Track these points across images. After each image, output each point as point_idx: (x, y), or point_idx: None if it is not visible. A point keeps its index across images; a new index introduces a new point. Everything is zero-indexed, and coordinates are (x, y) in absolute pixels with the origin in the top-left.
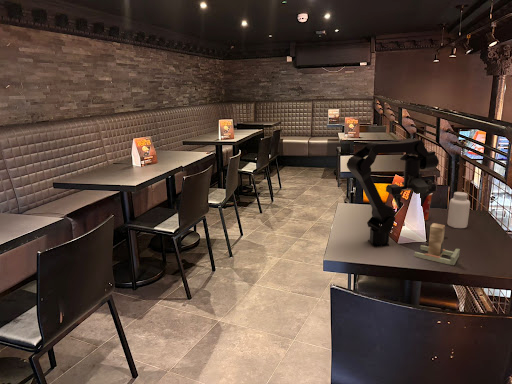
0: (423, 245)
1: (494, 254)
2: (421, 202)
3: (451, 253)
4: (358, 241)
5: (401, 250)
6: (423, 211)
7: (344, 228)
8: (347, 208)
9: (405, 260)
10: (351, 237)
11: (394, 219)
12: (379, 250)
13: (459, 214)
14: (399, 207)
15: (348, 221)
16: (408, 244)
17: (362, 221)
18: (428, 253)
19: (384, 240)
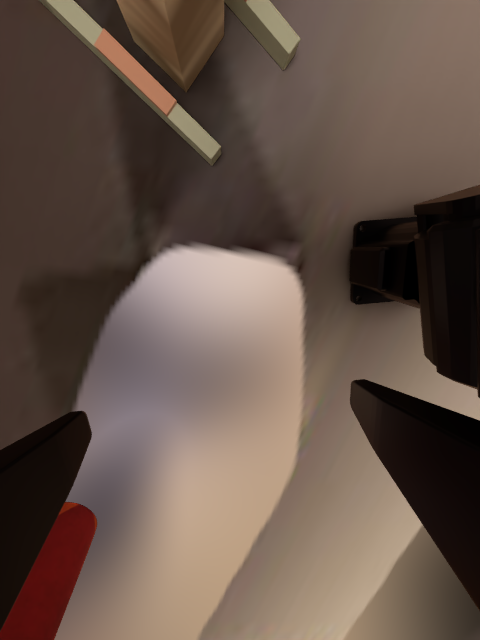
0: (201, 149)
1: None
2: (33, 465)
3: (72, 3)
4: None
5: (321, 157)
6: (41, 552)
7: None
8: (329, 620)
9: (366, 6)
10: None
11: (450, 221)
12: (426, 175)
13: None
14: (381, 387)
15: (389, 508)
16: (252, 232)
17: (334, 505)
18: (222, 12)
19: (397, 227)
